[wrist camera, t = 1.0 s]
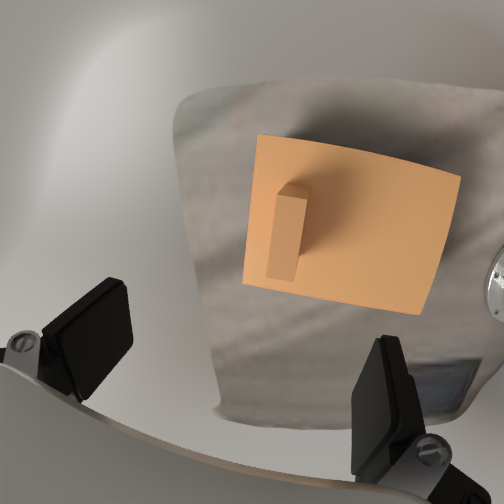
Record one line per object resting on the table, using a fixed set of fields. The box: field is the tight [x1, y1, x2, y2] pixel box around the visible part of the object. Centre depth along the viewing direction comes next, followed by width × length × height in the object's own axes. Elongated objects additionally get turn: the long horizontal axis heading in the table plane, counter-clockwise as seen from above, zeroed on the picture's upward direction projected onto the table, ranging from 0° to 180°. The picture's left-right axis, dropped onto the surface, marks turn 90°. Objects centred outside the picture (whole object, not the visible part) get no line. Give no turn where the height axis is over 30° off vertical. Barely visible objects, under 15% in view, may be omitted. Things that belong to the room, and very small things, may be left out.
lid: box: [242, 134, 461, 315], centre depth 23 cm, size 17×13×7 cm
